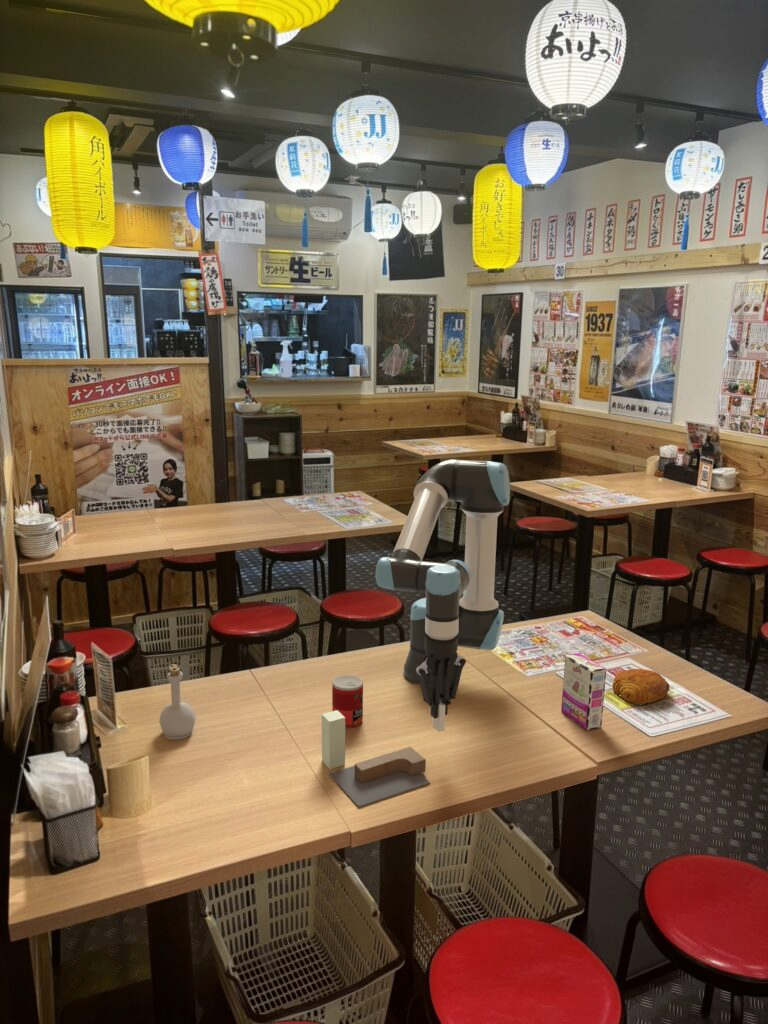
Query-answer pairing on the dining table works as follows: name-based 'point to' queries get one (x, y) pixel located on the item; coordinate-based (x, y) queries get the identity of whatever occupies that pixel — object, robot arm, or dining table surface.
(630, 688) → the croissant
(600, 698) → the candy bar box
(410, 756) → the wooden block
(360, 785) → the mat
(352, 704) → the canned food
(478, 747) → the dining table surface
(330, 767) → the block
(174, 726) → the potion bottle
